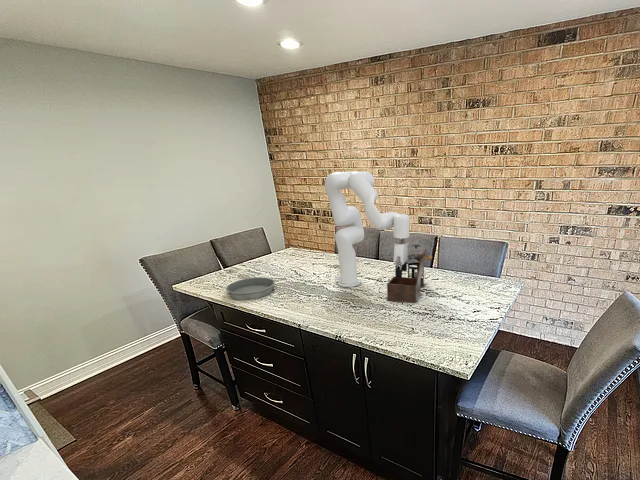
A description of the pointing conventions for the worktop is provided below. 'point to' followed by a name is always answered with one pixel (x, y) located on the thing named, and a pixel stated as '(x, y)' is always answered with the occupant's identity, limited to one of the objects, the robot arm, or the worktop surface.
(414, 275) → the french press
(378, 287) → the worktop surface
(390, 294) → the caddy
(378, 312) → the worktop surface
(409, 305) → the worktop surface
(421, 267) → the lid
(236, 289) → the cake pan
